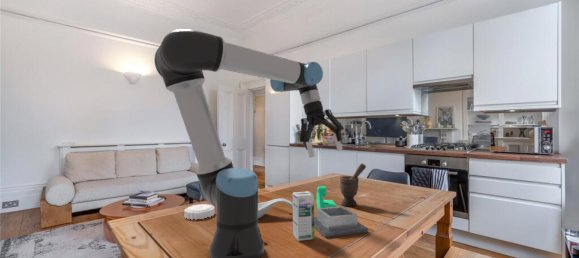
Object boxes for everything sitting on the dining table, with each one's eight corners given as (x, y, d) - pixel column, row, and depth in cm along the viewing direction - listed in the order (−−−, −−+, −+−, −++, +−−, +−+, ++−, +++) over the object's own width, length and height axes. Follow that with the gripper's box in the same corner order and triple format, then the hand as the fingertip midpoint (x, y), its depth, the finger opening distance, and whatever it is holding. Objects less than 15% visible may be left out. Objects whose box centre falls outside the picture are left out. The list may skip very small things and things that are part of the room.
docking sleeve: (325, 237, 83) (324, 221, 84) (308, 221, 99) (308, 207, 99) (367, 232, 88) (367, 216, 88) (345, 217, 103) (345, 204, 103)
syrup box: (297, 241, 81) (297, 195, 81) (292, 234, 86) (292, 191, 86) (314, 239, 82) (314, 194, 82) (308, 232, 88) (308, 190, 88)
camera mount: (338, 213, 110) (337, 189, 110) (320, 213, 109) (320, 189, 109) (332, 205, 121) (332, 183, 122) (316, 205, 121) (316, 183, 121)
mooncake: (180, 215, 107) (180, 206, 107) (207, 209, 115) (207, 201, 115) (190, 222, 98) (190, 213, 98) (219, 216, 106) (219, 207, 106)
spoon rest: (236, 221, 99) (236, 203, 99) (241, 212, 111) (241, 195, 111) (297, 221, 100) (297, 202, 100) (295, 211, 112) (295, 195, 112)
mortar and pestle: (361, 202, 126) (361, 161, 126) (367, 207, 117) (367, 163, 117) (338, 202, 126) (338, 161, 126) (342, 207, 117) (342, 164, 117)
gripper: (342, 92, 99) (357, 145, 96) (295, 112, 115) (307, 158, 112) (332, 91, 93) (348, 148, 90) (284, 112, 109) (296, 161, 106)
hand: (325, 153), depth 101 cm, fingers open, 13 cm apart
